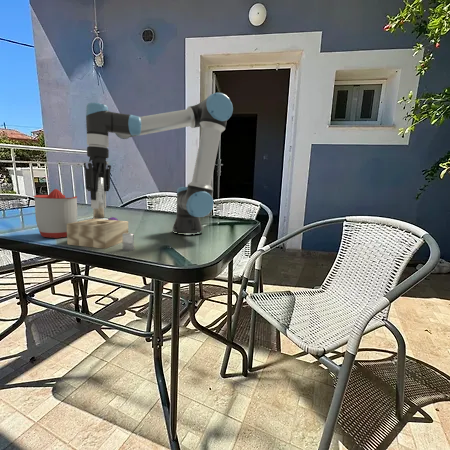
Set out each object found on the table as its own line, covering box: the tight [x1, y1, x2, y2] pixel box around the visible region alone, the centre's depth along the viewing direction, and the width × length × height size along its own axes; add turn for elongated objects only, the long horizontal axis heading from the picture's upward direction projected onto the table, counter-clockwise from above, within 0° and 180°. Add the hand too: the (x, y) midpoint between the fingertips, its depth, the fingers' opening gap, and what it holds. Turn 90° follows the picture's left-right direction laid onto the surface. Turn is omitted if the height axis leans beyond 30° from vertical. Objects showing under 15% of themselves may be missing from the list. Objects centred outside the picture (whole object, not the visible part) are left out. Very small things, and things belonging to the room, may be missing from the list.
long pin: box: [92, 177, 105, 219], centre depth 105 cm, size 4×4×16 cm
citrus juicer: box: [33, 188, 78, 239], centre depth 114 cm, size 16×17×20 cm
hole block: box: [66, 218, 129, 250], centre depth 108 cm, size 16×16×8 cm
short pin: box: [121, 232, 135, 252], centre depth 99 cm, size 4×4×6 cm
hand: (98, 207), depth 106 cm, fingers closed on long pin, 4 cm apart
